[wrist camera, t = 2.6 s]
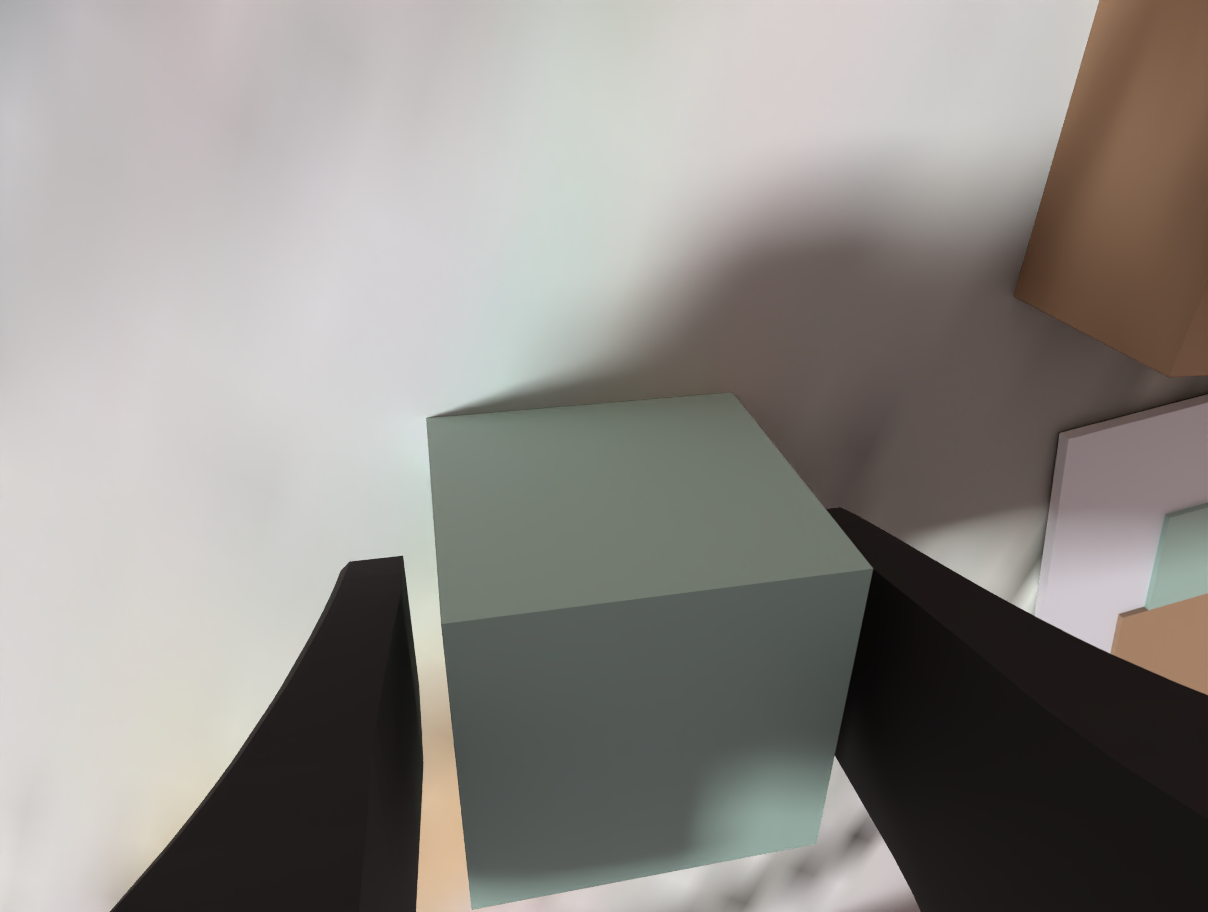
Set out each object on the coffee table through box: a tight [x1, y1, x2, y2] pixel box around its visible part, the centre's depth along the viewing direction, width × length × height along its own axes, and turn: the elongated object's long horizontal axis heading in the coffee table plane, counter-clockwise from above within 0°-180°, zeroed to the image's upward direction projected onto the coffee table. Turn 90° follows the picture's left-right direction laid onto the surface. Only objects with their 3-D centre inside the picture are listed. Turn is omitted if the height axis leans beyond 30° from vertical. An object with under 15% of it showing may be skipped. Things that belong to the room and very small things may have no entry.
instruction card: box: [1034, 394, 1208, 695], centre depth 15 cm, size 9×6×1 cm, turn 10°
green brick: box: [426, 392, 873, 910], centre depth 10 cm, size 4×4×4 cm
